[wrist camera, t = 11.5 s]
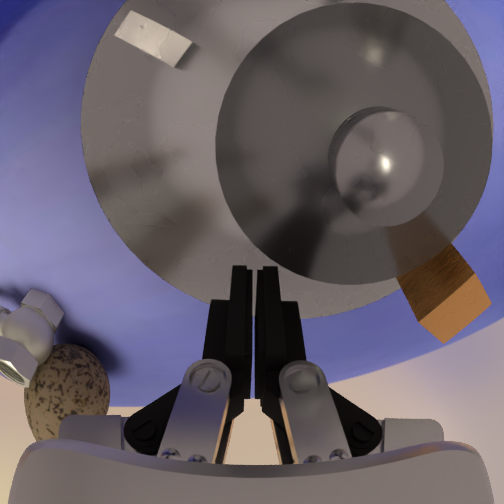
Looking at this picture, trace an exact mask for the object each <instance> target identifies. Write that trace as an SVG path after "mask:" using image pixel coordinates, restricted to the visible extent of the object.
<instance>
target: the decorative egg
mask: <svg viewBox="0 0 504 504" xmlns="http://www.w3.org/2000/svg"><path fill="white" fill-rule="evenodd" d="M24 402H25V409H26V415H27V419H28V423H29V426H30V428H31V430H32V433H33V435H34V437H35V439H36V441H41V440H46V439H58V432H59V426H60V423H61V421H62V420H63V419H64V418H65V417H67V416H69V415H106V414H107V411H108V407H109V402H110V385H109V380H108V376H107V373H106V371H105V369H104V367H103V365H102V364H101V362H100V361H99V360H98V358H97V357H96V356H95V355H94V354H93V353H92V352H90V351H89V350H87V349H86V348H84V347H82V346H79V345H76V344H69V343H64V344H57V345H54V346H53V348H52V351H51V354H50V355H49V357H48V358H47V360H46V361H45V362H44V363H42V364H41V365H39V366H38V367H37V371H36V373H35V376H34V378H33V380H32V382H31V385H30V387H29V388H27V387H25V389H24Z"/></svg>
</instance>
